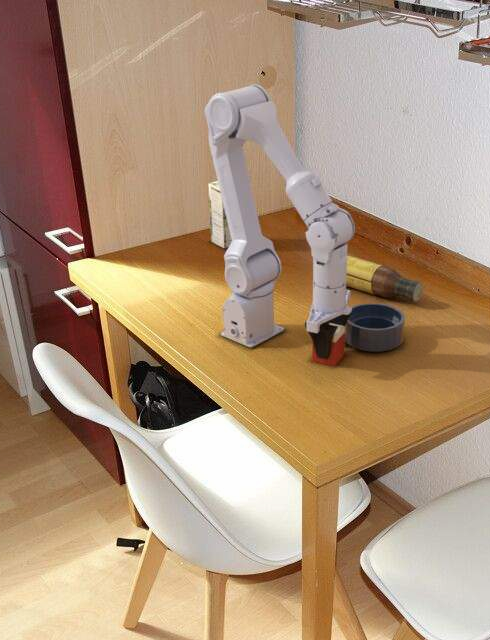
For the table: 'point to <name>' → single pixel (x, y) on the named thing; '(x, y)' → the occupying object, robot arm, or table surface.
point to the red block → (333, 348)
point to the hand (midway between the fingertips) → (328, 351)
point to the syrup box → (218, 217)
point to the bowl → (375, 327)
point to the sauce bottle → (380, 280)
